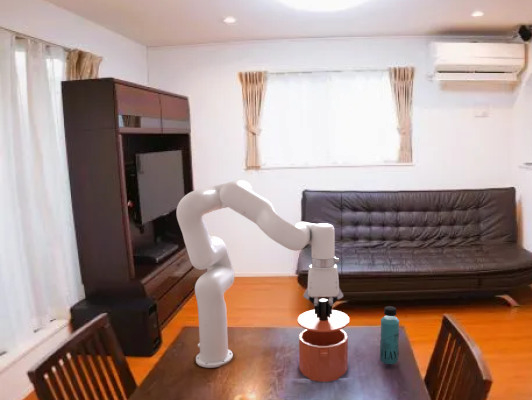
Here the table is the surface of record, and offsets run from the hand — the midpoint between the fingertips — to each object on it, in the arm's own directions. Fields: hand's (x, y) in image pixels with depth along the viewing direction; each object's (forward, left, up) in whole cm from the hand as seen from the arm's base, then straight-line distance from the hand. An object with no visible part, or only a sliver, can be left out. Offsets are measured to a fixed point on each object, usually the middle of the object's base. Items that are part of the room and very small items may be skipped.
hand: (323, 315), depth 141 cm
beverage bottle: (+14, +18, -19) cm, 30 cm away
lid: (0, 0, -2) cm, 2 cm away
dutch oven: (0, 0, -19) cm, 19 cm away
